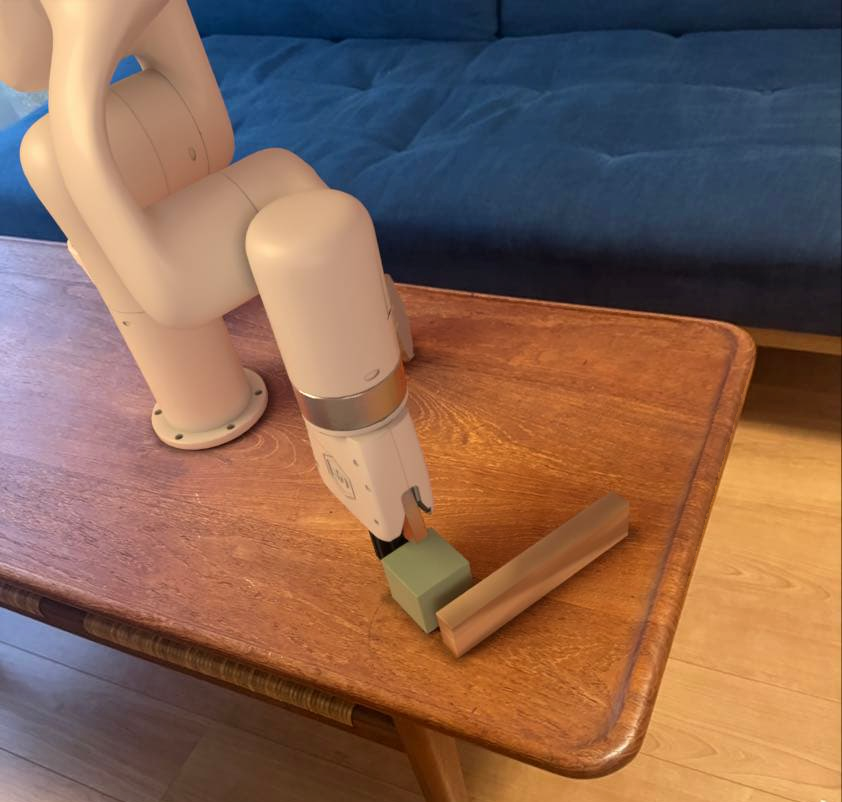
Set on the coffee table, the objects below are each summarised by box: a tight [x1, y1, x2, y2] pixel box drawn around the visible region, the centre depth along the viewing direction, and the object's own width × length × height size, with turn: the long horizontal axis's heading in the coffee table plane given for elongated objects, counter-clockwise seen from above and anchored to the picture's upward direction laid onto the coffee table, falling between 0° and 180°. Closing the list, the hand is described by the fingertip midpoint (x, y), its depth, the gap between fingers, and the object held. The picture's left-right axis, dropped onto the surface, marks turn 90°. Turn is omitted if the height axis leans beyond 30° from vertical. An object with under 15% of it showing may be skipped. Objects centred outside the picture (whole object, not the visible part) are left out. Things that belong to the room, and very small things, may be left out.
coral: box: [384, 273, 415, 363], centre depth 86 cm, size 10×10×10 cm
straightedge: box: [436, 489, 631, 658], centre depth 65 cm, size 2×18×4 cm, turn 126°
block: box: [380, 526, 475, 635], centre depth 65 cm, size 5×5×5 cm
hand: (397, 553), depth 69 cm, fingers closed
